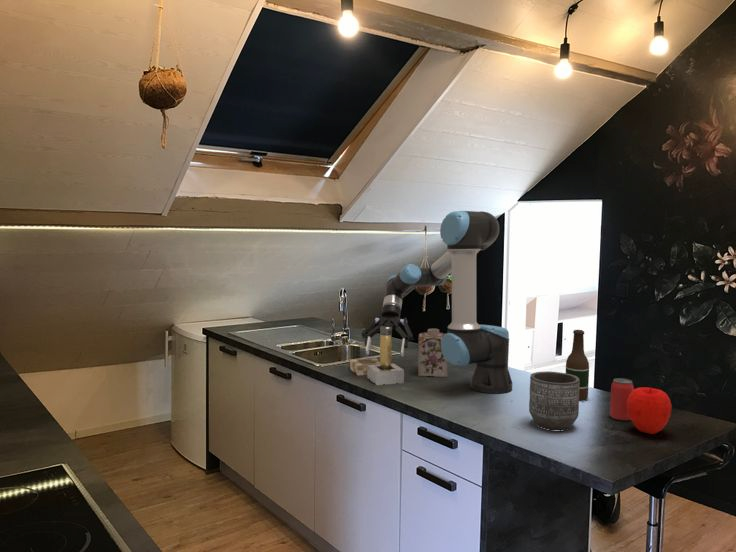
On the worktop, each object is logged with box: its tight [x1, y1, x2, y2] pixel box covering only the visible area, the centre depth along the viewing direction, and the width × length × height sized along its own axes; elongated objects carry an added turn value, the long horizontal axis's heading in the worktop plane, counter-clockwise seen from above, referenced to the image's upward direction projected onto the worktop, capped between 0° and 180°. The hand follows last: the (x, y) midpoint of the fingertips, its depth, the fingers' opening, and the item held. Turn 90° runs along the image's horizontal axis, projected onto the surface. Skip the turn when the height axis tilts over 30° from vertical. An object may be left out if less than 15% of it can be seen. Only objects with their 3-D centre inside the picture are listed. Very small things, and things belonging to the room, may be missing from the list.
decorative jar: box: [417, 328, 449, 378], centre depth 240 cm, size 12×12×18 cm
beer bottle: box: [565, 329, 590, 402], centre depth 207 cm, size 8×8×24 cm
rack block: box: [349, 357, 380, 376], centre depth 243 cm, size 11×11×4 cm
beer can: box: [609, 377, 635, 422], centre depth 186 cm, size 7×7×12 cm
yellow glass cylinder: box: [379, 326, 393, 370], centre depth 228 cm, size 4×4×21 cm
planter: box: [528, 371, 580, 432], centre depth 178 cm, size 14×14×15 cm
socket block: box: [366, 363, 405, 386], centre depth 229 cm, size 11×11×5 cm
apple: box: [626, 386, 672, 435], centre depth 173 cm, size 12×12×13 cm
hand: (384, 353), depth 226 cm, fingers open, 13 cm apart
